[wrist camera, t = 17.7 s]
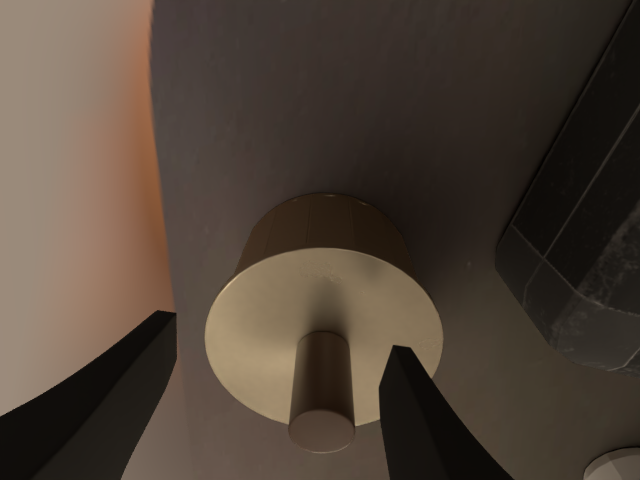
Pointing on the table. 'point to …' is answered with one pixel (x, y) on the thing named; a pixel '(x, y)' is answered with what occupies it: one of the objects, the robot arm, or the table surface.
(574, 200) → the cash box
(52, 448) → the robot arm
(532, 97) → the table surface
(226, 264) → the table surface
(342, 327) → the lid
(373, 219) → the tin
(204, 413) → the table surface
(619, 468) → the coffee cup
